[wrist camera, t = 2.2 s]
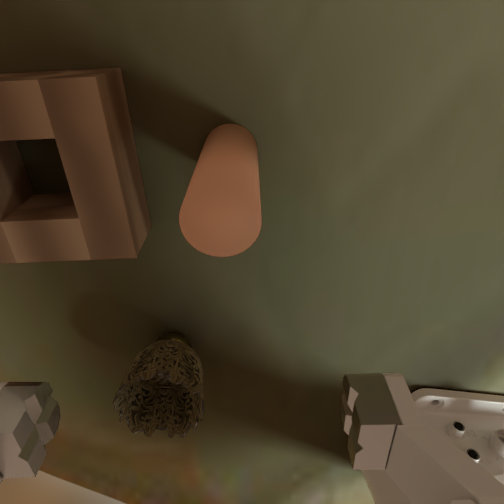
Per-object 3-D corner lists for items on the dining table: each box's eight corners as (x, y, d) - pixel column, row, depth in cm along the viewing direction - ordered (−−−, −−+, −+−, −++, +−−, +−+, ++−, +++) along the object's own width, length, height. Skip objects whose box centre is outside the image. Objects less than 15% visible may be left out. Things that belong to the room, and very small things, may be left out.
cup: (135, 365, 41) (112, 435, 34) (137, 309, 37) (111, 375, 30) (207, 373, 41) (199, 443, 35) (216, 319, 38) (208, 386, 31)
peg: (256, 122, 28) (260, 180, 18) (258, 175, 30) (262, 255, 20) (201, 124, 29) (173, 184, 18) (206, 177, 31) (184, 258, 20)
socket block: (120, 67, 27) (95, 76, 22) (151, 226, 33) (136, 258, 28) (-55, 76, 27) (-114, 87, 23) (8, 232, 33) (-29, 264, 29)
